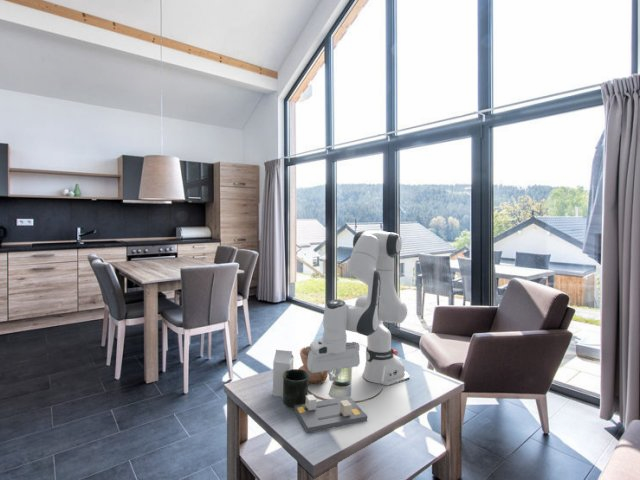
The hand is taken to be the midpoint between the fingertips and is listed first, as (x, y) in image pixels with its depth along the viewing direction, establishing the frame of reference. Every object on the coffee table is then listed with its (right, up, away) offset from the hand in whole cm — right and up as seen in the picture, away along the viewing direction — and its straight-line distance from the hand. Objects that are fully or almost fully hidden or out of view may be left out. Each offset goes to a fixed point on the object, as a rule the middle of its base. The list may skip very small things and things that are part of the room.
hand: (333, 379), depth 141 cm
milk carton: (-21, -14, +22) cm, 33 cm away
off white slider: (-9, -14, +6) cm, 17 cm away
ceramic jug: (-8, -13, +35) cm, 38 cm away
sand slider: (+5, -14, +3) cm, 15 cm away
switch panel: (-1, -16, +5) cm, 17 cm away
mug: (-16, -15, +15) cm, 27 cm away
